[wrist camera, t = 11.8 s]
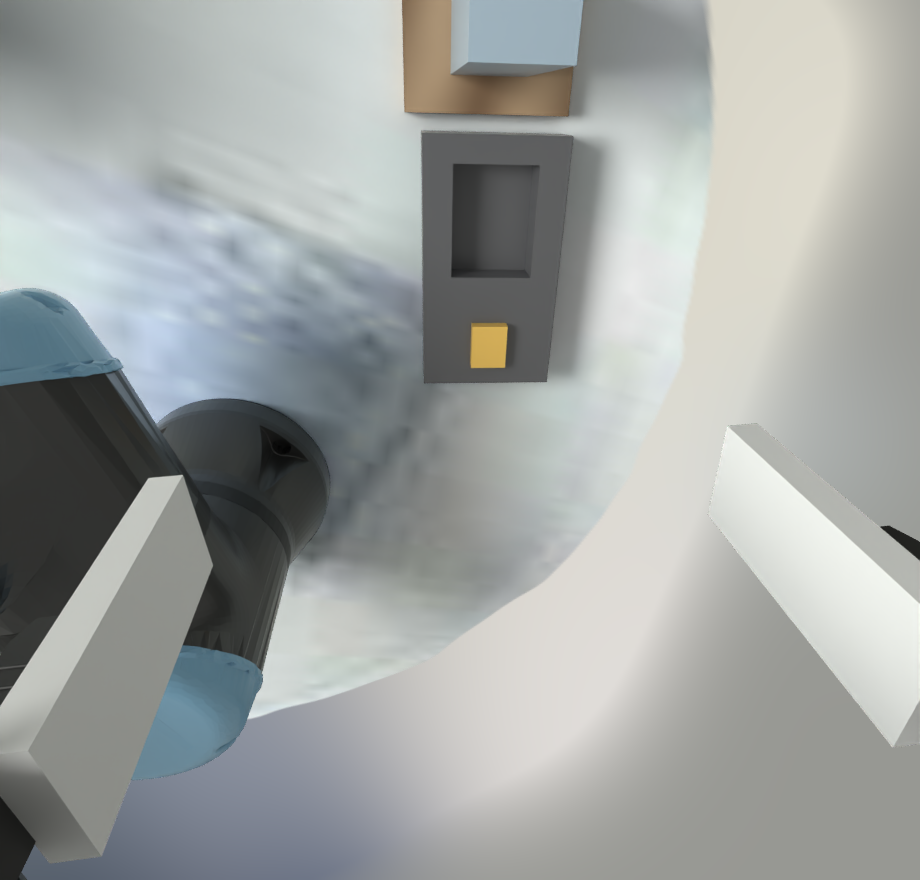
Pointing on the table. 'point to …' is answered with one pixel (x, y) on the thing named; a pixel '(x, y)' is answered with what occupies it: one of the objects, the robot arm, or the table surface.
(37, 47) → the table surface
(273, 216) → the table surface
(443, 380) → the dark grey holder
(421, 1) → the walnut board
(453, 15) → the light blue tall block
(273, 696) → the table surface
